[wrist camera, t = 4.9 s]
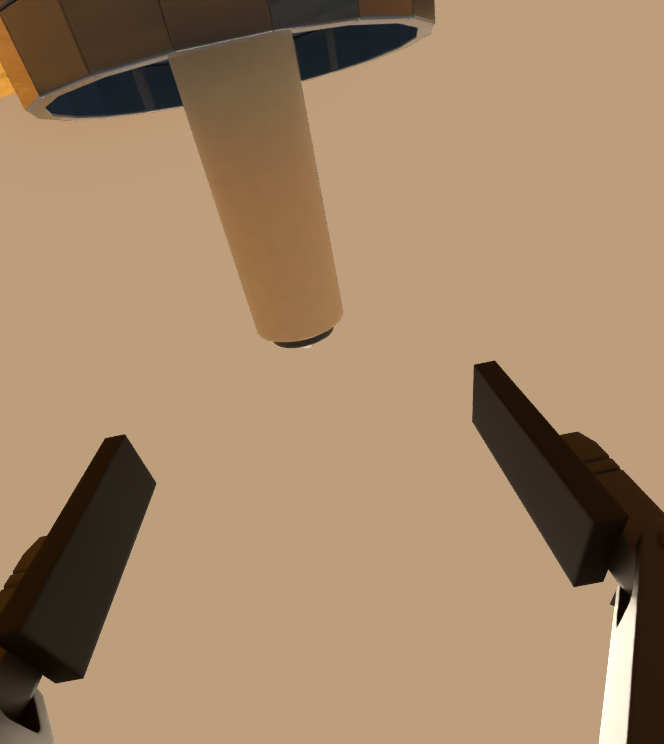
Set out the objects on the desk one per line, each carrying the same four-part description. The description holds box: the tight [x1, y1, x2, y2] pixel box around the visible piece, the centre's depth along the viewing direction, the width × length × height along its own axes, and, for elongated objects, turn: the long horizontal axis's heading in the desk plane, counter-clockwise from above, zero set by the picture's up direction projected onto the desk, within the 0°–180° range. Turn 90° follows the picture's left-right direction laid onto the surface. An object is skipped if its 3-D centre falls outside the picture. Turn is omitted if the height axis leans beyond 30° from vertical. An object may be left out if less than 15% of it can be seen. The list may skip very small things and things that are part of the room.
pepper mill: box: [168, 33, 343, 348], centre depth 19 cm, size 5×5×17 cm
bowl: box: [0, 0, 435, 121], centre depth 15 cm, size 16×16×4 cm
